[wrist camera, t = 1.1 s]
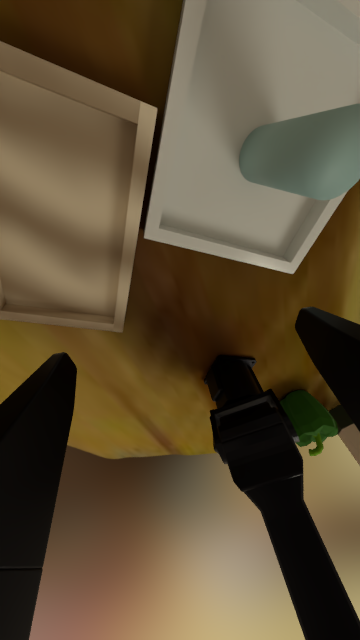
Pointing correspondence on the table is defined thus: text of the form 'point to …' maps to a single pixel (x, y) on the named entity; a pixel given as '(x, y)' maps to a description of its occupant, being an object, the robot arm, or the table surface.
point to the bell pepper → (309, 419)
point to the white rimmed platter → (247, 122)
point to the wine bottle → (347, 431)
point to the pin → (306, 153)
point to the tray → (68, 193)
